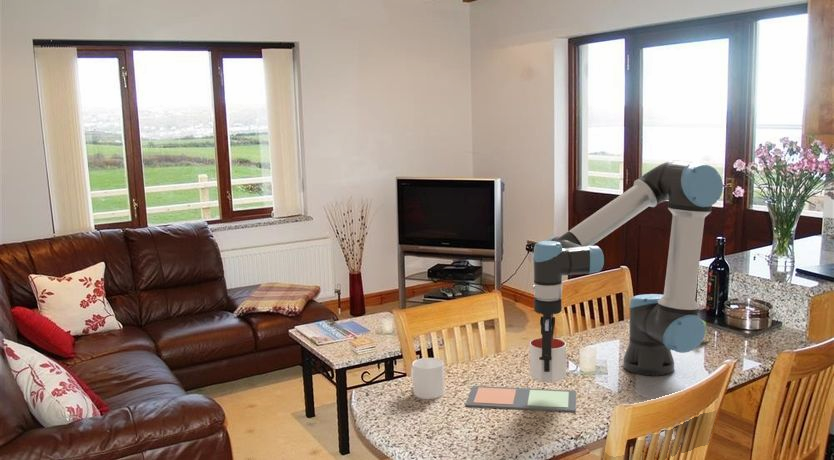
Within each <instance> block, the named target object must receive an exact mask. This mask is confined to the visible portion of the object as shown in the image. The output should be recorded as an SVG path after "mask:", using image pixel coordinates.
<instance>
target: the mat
mask: <svg viewBox="0 0 834 460" xmlns="http://www.w3.org/2000/svg"><path fill="white" fill-rule="evenodd" d="M576 396H577V390H574V389H573V390H570V389H552V388H551V389H547V388H528V387H527V388H526V387H506V386H489V385H487V386H485V385H484V386H483V385H472V386H471V390H470V391H469V394H468V397H467V399H466V403H465V407H468V408H469V407H470V408H471V407H473V408H475V407H476V408H488V409H489V408H490V409H491V408H492V409H506V410H507V409H509V410H511V409H512V410H527V411H528V410H529V411H545V412H549V411H550V412H563V413H564V412H565V413H576V411H577V409H576V406H577V403H576V401H577V397H576Z"/></svg>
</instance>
